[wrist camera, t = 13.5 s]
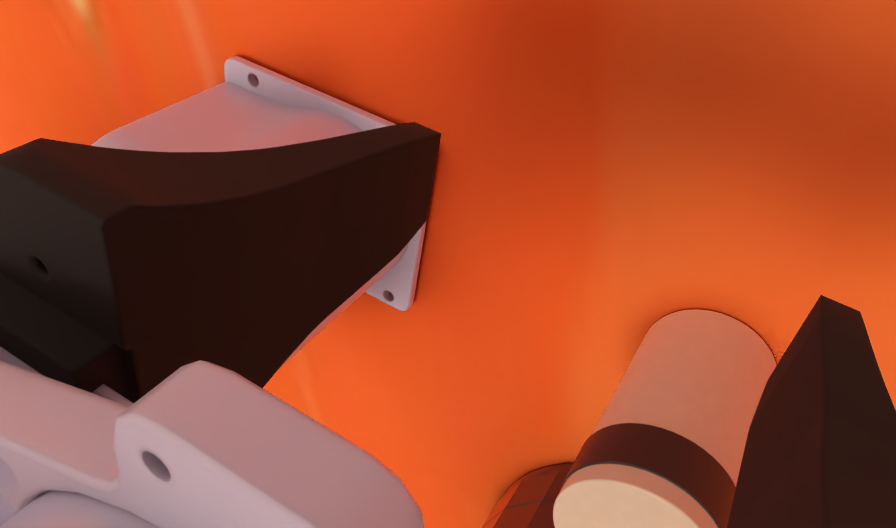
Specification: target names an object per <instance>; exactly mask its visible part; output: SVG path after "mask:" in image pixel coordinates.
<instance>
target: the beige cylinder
mask: <svg viewBox="0 0 896 528" xmlns="http://www.w3.org/2000/svg"><path fill="white" fill-rule="evenodd" d="M775 368H776V362H775V359H774V357H773V354H772V352H771V351H770V349H769V347H768V346H767V345H766V343H765V342H764V341H763V339H762V338H761V337H760V336H759V335H758V334H757V333H756V332H754V331H753V330H752V329H751V328H749V327H748V326H746V325H745V324H743V323H742V322H740V321H738V320H736V319H734V318H732V317H730V316H727V315H725V314H721V313H718V312H714V311H708V310H699V309H692V310H682V311H678V312H674V313H671V314H669V315H666V316H664V317H663V318H661V319H659V320H658V321H657V322H656V323H654V324H653V325H652V326H651V328H650V329H649V330H648V332H647V334H646V335H645V337H644V339H643V341H642V343H641V344H640V346H639V348H638V350H637V352H636V354H635V355H634V357H633V359H632V361H631V363H630V365H629V366H628V368H627V370H626V372H625V374H624V376H623V377H622V379H621V381H620V383H619V385H618V387H617V388H616V390H615V392H614V394H613V396H612V398H611V399H610V401H609V403H608V405H607V407H606V409H605V410H604V412H603V414H602V416H601V418H600V420H599V421H598V423H597V425H596V427H595V429H594V431H593V432H592V434H591V436H590V437H589V438H588V439H587V440H586V442H585V443H584V445H583V447H582V449H581V451H580V452H579V454H578V456H577V458H576V460H575V461H574V463H573V465H572V467H571V469H570V471H569V472H568V474H567V476H566V478H565V480H564V481H563V483H562V486H561V490H560V493H559V495H558V496H557V498H556V500H555V503H554V507H553V521H554V526H555V528H727V524H728V520H729V515H730V511H731V507H732V502H733V498H734V493H735V489H736V484H737V480H738V475H739V471H740V466H741V462H742V457H743V453H744V449H745V444H746V440H747V436H748V432H749V427H750V425H751V422H752V419H753V417H754V414H755V411H756V409H757V406H758V403H759V401H760V398H761V396H762V393H763V391H764V388H765V385H766V383H767V380H768V379H769V377H770V376H771V374H772V372H773V371H774V369H775Z"/></svg>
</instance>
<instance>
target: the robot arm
mask: <svg viewBox="0 0 896 528" xmlns="http://www.w3.org/2000/svg"><path fill="white" fill-rule="evenodd" d="M224 74H225V82H222V83H220V84H218V85H216V86H213V87H211V88H209V89H206V90H204V91H202V92H200V93H197V94H195V95H193V96H190V97H188V98H186V99H183V100H181V101H179V102H177V103H174V104H172V105H170V106H167V107H165V108H163V109H160V110H158V111H156V112H154V113H151V114H149V115H147V116H144V117H142V118H140V119H137V120H135V121H133V122H131V123H128V124H126V125H124V126H121V127H119V128H117V129H114V130H112V131H111V132H109V133H107V134H105V135H103V136H102V137H100V138H99V139H98V140H96V141H95V142H94V143H92V144H91V145H83V144H76V143H69V142H62V141H55V140H49V139H43V138H40V139H36V140H34V141H32V142H29V143H27V144H24V145H22V146H19V147H17V148H14V149H12V150H10V151H7V152H5V153H2V154H0V528H424V526H423V519H422V514H421V510H420V507H419V506H418V504H417V503H416V501H415V500H414V498H413V497H412V495H411V494H410V492H409V491H408V489H407V488H406V486H405V485H404V483H403V482H402V480H401V479H400V478H399V477H398V476H397V475H396V474H394V473H393V472H392V471H391V470H390V469H388V468H387V467H386V466H385V465H384V464H382V463H381V462H380V461H379V460H377V459H376V458H375V457H374V456H373V455H371V454H370V453H368V452H367V451H365V450H363V449H362V448H360V447H358V446H357V445H355V444H353V443H352V442H350V441H348V440H347V439H345V438H343V437H342V436H340V435H339V434H337V433H335V432H334V431H332V430H330V429H329V428H327V427H325V426H324V425H322V424H320V423H319V422H317V421H315V420H314V419H312V418H310V417H309V416H307V415H305V414H304V413H302V412H300V411H299V410H297V409H295V408H294V407H292V406H290V405H289V404H287V403H286V402H284V401H282V400H281V399H279V398H277V397H276V396H274V395H272V394H271V393H269V392H267V391H266V390H264V389H262V388H263V387H264V386H265V384H266V383H267V382H268V381H269V380H270V378H271V377H272V376H273V375H274V374H275V373H276V371H277V370H278V369H279V368H280V367H282V366H283V365H284V364H285V363H286V362H287V361H288V360H289V359H291V358H292V357H293V356H294V355H295V354H296V353H297V352H298V351H299V350H301V349H302V348H303V347H304V346H305V345H306V344H307V343H308V342H310V341H311V340H312V339H313V338H314V337H315V336H316V335H317V334H319V333H320V332H321V331H322V330H323V329H324V328H325V327H326V326H328V325H329V324H330V323H331V322H332V321H333V320H334V319H335V318H336V317H338V316H339V315H340V314H341V313H342V312H343V311H344V310H345V309H347V308H348V307H349V306H350V305H351V304H352V303H353V302H354V301H356V300H357V299H358V298H359V297H360V296H361V295H362V294H363V293H364V292H365V293H367V294H369V295H371V296H373V297H375V298H377V299H379V300H380V301H382V302H384V303H386V304H388V305H390V306H392V307H394V308H396V309H398V310H401V311H406V310H407V309H409V308H410V307H411V306H412V304H413V301H414V295H415V289H416V283H417V276H418V270H419V264H420V258H421V252H422V246H423V239H424V233H425V227H426V221H427V217H428V211H429V205H430V199H431V193H432V186H433V180H434V174H435V168H436V162H437V156H438V149H439V143H440V137H441V133H438V132H436V131H434V130H431V129H429V128H427V127H424V126H422V125H420V124H417V123H415V122H413V123H403V124H395V123H392V122H390V121H388V120H385V119H383V118H381V117H378V116H376V115H374V114H371V113H369V112H367V111H364V110H362V109H360V108H357V107H355V106H353V105H350V104H348V103H346V102H343V101H341V100H339V99H336V98H334V97H332V96H329V95H327V94H325V93H322V92H320V91H318V90H315V89H313V88H311V87H308V86H306V85H304V84H302V83H299V82H297V81H295V80H292V79H290V78H288V77H285V76H283V75H281V74H278V73H276V72H274V71H271V70H269V69H267V68H264V67H262V66H260V65H257V64H255V63H253V62H250V61H248V60H246V59H243V58H241V57H238V56H234V57H232V58H229V59H227V60H226V61H225V64H224ZM255 76H256V77H257V78H258V81H259V82H258V81H257V79H256V77H255ZM390 292H391V293H392V295H391V294H390ZM727 528H896V411H895V408H894V406H893V403H892V401H891V398H890V396H889V393H888V391H887V388H886V386H885V383H884V381H883V378H882V375H881V372H880V370H879V367H878V364H877V361H876V358H875V355H874V352H873V349H872V346H871V343H870V340H869V337H868V334H867V331H866V327H865V324H864V321H863V319H862V316H861V313H860V311H857V310H855V309H852V308H850V307H848V306H845V305H843V304H841V303H838V302H836V301H834V300H831V299H829V298H827V297H824V296H822V295H821V296H820V297H819V299H818V301H817V302H816V304H815V305H814V307H813V309H812V310H811V312H810V313H809V315H808V317H807V318H806V320H805V321H804V323H803V325H802V326H801V328H800V329H799V331H798V333H797V334H796V336H795V337H794V339H793V340H792V342H791V344H790V345H789V347H788V348H787V350H786V352H785V353H784V355H783V356H782V358H781V360H780V361H779V363H778V364H777V366H776V368H775V369H774V371H773V372H772V374H771V376H770V377H769V379H768V380H767V383H766V385H765V388H764V391H763V393H762V396H761V398H760V401H759V403H758V406H757V409H756V411H755V414H754V417H753V419H752V422H751V425H750V427H749V432H748V436H747V440H746V444H745V449H744V453H743V457H742V462H741V466H740V471H739V475H738V480H737V484H736V489H735V493H734V498H733V502H732V507H731V511H730V515H729V520H728V524H727Z"/></svg>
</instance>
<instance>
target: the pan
mask: <svg viewBox="0 0 896 528" xmlns="http://www.w3.org/2000/svg"><path fill="white" fill-rule="evenodd" d="M572 465H573V463H566V464H560V465H553V466H548V467H545V468H541V469H538V470H535V471H533V472H531V473H529V474H527V475H525V476H523V477H522V478H520V479H519V480H518V481H517V482H515V483H514V484H513V485H512V486H511V487H510V488H509V490H508V491H507V492H506V493H505V495H504V496H503V497H502V498H500V499H499V501H498V503H497V504H496V506H495V507H494V509H493V511H492V512H491V514H490V515H489V517H488V519H487V520H486V522H485V523H484V525H483V527H482V528H555V526H554V521H553V507H554V503H555V500H556V498H557V496H558V495H559V493H560V490H561V486H562V483H563V481H564V480H565V478H566V476H567V474H568V472H569V471H570V469H571V467H572Z"/></svg>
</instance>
